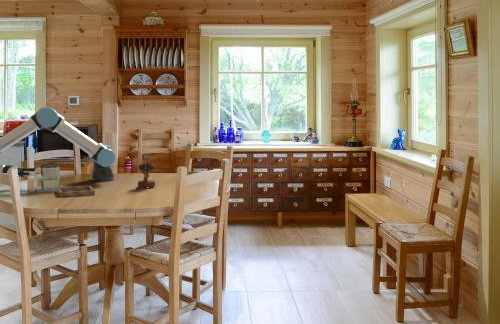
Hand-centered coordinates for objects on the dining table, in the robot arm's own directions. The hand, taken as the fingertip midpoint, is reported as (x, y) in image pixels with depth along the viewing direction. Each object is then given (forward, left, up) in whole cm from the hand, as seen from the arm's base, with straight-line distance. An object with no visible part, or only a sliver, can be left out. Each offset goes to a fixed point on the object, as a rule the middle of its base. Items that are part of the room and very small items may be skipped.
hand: (40, 172), depth 299 cm
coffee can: (-5, +2, -10) cm, 11 cm away
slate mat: (-5, +2, -10) cm, 12 cm away
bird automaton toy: (-59, +12, -10) cm, 61 cm away
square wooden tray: (-17, +20, -10) cm, 28 cm away
